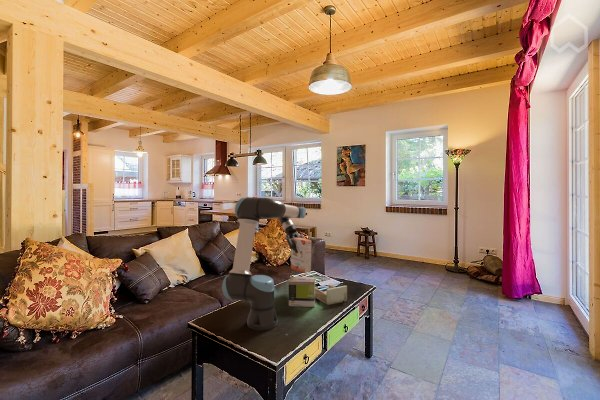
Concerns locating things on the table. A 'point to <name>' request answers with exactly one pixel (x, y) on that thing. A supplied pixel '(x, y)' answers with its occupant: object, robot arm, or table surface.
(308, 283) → the tea box
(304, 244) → the cracker box
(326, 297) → the book trough
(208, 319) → the table surface
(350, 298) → the table surface
